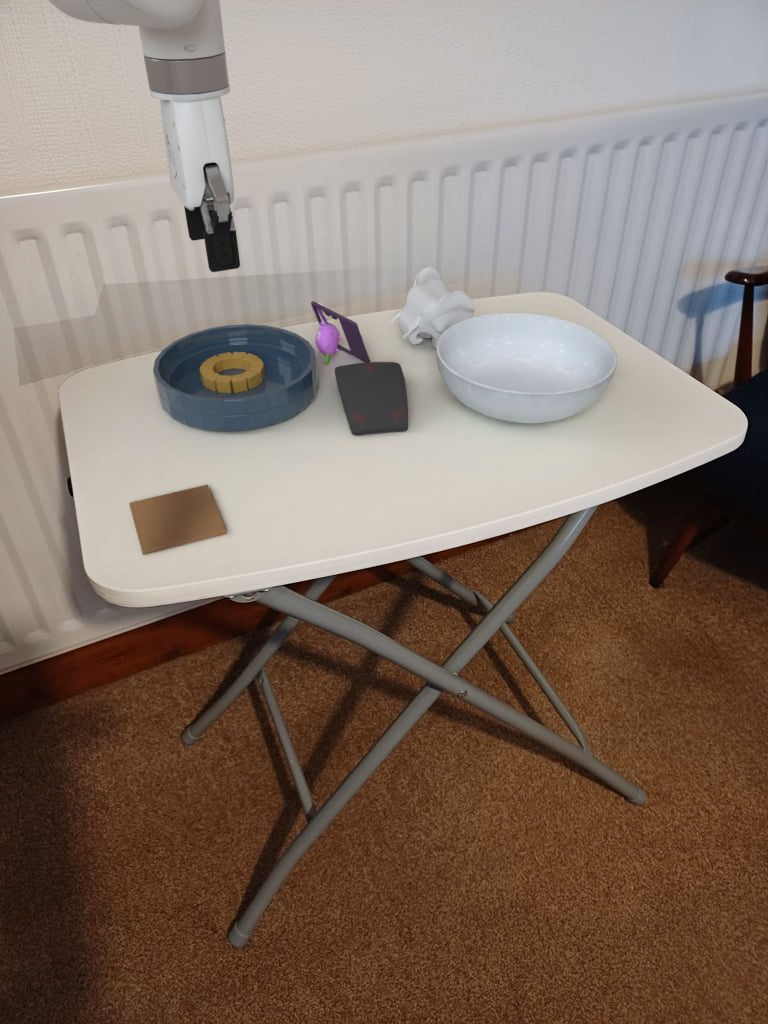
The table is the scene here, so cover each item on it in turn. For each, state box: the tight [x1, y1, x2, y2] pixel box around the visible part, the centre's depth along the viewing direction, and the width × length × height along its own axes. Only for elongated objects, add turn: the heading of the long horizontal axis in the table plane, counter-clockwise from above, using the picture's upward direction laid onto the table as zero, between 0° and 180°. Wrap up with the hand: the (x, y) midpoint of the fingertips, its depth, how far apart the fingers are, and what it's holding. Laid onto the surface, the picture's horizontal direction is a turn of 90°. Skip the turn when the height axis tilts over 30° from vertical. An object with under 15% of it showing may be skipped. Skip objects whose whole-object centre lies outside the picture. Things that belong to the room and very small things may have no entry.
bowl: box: [152, 323, 319, 432], centre depth 96 cm, size 19×19×4 cm
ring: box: [200, 352, 265, 393], centre depth 98 cm, size 8×8×2 cm
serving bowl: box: [435, 311, 619, 424], centre depth 93 cm, size 21×21×7 cm
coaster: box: [128, 484, 227, 556], centre depth 77 cm, size 8×8×1 cm
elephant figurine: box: [387, 266, 476, 349], centre depth 105 cm, size 10×12×9 cm
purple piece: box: [310, 300, 371, 365], centre depth 102 cm, size 7×5×9 cm
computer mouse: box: [334, 361, 409, 436], centre depth 93 cm, size 8×14×4 cm, turn 9°
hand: (214, 253), depth 85 cm, fingers open, 9 cm apart
